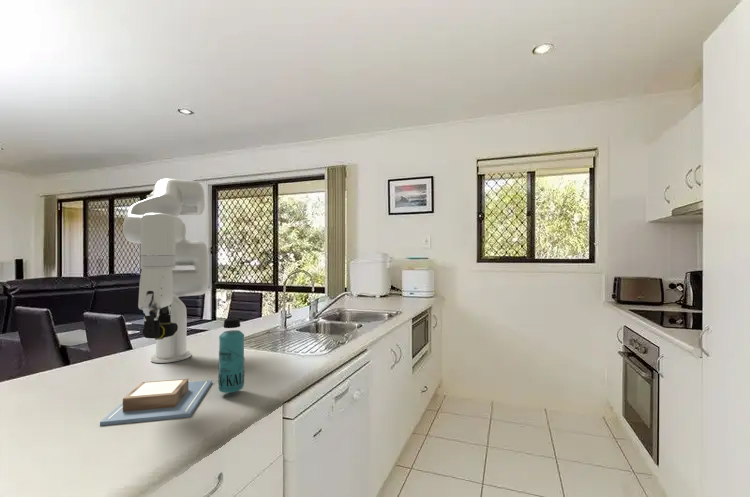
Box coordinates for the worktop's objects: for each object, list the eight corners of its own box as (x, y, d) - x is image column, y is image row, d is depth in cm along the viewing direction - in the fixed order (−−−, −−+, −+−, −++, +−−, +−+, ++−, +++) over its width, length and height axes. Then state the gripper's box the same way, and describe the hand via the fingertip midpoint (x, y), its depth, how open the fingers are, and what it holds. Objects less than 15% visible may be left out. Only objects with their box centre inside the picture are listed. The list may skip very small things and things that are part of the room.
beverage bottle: (222, 389, 97) (223, 316, 98) (247, 388, 98) (247, 316, 98) (214, 399, 91) (214, 321, 91) (240, 398, 92) (240, 320, 92)
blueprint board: (142, 388, 99) (142, 374, 99) (212, 382, 103) (212, 369, 103) (99, 425, 77) (100, 407, 77) (189, 416, 81) (189, 399, 81)
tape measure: (178, 334, 93) (178, 320, 93) (170, 340, 87) (170, 325, 87) (149, 336, 92) (149, 321, 92) (138, 342, 85) (138, 326, 85)
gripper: (155, 262, 97) (154, 327, 97) (125, 263, 80) (124, 343, 80) (185, 261, 99) (184, 326, 98) (161, 263, 82) (161, 341, 82)
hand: (158, 333), depth 89 cm, fingers closed on tape measure, 6 cm apart
